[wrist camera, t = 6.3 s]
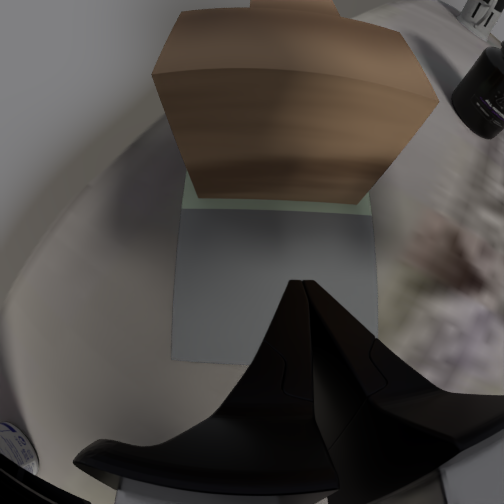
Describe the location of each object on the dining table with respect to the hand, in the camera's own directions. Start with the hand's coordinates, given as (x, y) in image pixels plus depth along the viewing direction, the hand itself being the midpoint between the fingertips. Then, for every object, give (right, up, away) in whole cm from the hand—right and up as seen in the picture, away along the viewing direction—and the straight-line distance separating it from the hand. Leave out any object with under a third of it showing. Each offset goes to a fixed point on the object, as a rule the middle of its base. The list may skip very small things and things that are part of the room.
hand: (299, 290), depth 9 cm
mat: (0, +7, +9) cm, 11 cm away
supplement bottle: (+23, +16, +11) cm, 30 cm away
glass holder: (+46, +49, +20) cm, 70 cm away
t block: (0, +11, +9) cm, 15 cm away
